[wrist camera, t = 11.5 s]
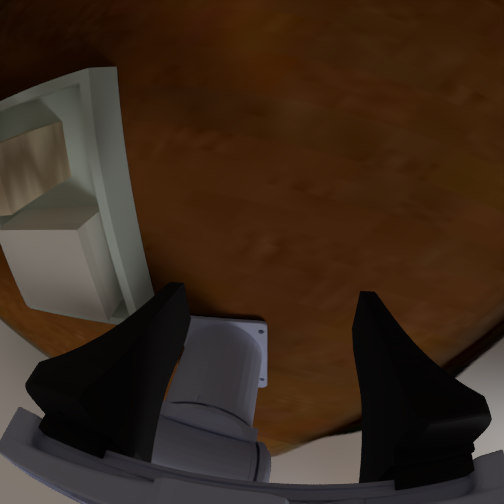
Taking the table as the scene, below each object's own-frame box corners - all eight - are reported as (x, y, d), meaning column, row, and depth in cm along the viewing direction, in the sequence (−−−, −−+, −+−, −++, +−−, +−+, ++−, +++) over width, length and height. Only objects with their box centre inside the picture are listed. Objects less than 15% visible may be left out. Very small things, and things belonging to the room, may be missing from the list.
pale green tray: (156, 302, 28) (142, 328, 25) (47, 288, 30) (29, 307, 27) (116, 66, 18) (88, 68, 15) (-2, 107, 19) (-29, 115, 16)
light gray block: (127, 291, 26) (107, 321, 23) (48, 281, 28) (26, 305, 24) (105, 205, 22) (77, 229, 19) (23, 210, 23) (-5, 230, 20)
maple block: (71, 176, 21) (11, 215, 15) (35, 181, 22) (-22, 217, 16) (61, 120, 19) (-6, 146, 13) (25, 131, 20) (-38, 158, 14)
